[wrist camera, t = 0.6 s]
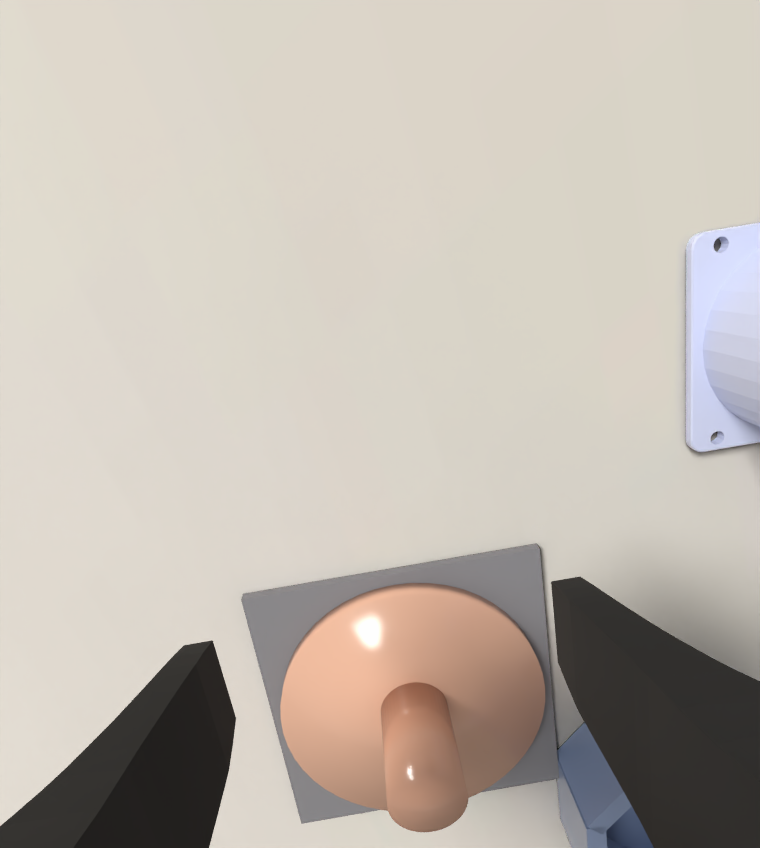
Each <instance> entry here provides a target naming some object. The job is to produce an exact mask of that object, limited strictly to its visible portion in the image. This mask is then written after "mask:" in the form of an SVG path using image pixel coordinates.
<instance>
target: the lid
mask: <svg viewBox="0 0 760 848" xmlns="http://www.w3.org/2000/svg"><path fill="white" fill-rule="evenodd" d="M544 707H545V684H544V678H543V673H542V670H541V667H540V664H539V661H538V659H537V657H536V655H535V653H534V650H533V648H532V646H531V645H530V643H529V641H528V639H527V637H526V635H525V634H524V632H523V631H522V630H521V628H520V627H519V626H518V624H517V623H516V622H515V621H514V620H513V619H512V618H511V617H510V616H509V615H508V614H507V613H506V612H505V611H503V610H502V609H501V608H499V607H498V606H496V605H495V604H494V603H492V602H490V601H488V600H487V599H485V598H483V597H481V596H479V595H477V594H474V593H472V592H469V591H466V590H464V589H460V588H456V587H452V586H448V585H441V584H433V583H406V584H397V585H391V586H386V587H382V588H378V589H374V590H371V591H368V592H366V593H363V594H360V595H358V596H356V597H354V598H351V599H349V600H347V601H345V602H343V603H342V604H340V605H339V606H337V607H336V608H334V609H333V610H331V611H330V612H328V613H327V614H326V615H325V616H323V617H322V618H321V619H320V620H319V621H317V622H316V623H315V624H314V625H313V627H312V628H311V629H310V630H309V631H308V632H307V633H306V634H305V635H304V637H303V638H302V640H301V641H300V643H299V644H298V646H297V647H296V649H295V651H294V653H293V655H292V657H291V659H290V661H289V664H288V667H287V670H286V674H285V677H284V684H283V690H282V697H281V704H280V711H281V724H282V729H283V734H284V737H285V740H286V742H287V745H288V747H289V749H290V751H291V753H292V755H293V757H294V759H295V760H296V761H297V763H298V764H299V765H300V767H301V768H302V769H303V770H304V771H305V772H306V773H307V774H308V775H309V776H310V777H311V778H312V779H313V780H314V781H315V782H316V783H318V784H319V785H320V786H322V787H323V788H324V789H326V790H327V791H329V792H331V793H333V794H334V795H336V796H338V797H340V798H343V799H345V800H347V801H350V802H352V803H355V804H358V805H362V806H365V807H369V808H374V809H380V810H388V811H389V814H390V816H391V817H392V819H393V820H394V821H395V822H396V823H397V824H399V825H400V826H402V827H403V828H406V829H408V830H411V831H416V832H432V831H437V830H440V829H443V828H446V827H448V826H450V825H451V824H453V823H454V822H456V821H457V820H458V819H459V818H460V817H461V816H462V814H463V813H464V811H465V809H466V807H467V804H468V798H469V797H471V796H473V795H476V794H478V793H480V792H481V791H483V790H485V789H486V788H488V787H490V786H492V785H493V784H494V783H496V782H497V781H498V780H500V779H501V778H502V777H504V776H505V775H506V774H507V773H508V772H509V771H510V770H511V769H512V768H513V767H515V765H516V764H517V763H518V762H519V761H520V760H521V758H522V757H523V756H524V755H525V753H526V752H527V750H528V749H529V747H530V746H531V744H532V743H533V741H534V739H535V736H536V734H537V732H538V730H539V727H540V724H541V721H542V718H543V713H544Z"/></svg>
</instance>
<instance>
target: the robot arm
mask: <svg viewBox="0 0 760 848" xmlns="http://www.w3.org/2000/svg"><path fill="white" fill-rule="evenodd" d="M717 238H719V239H720V241H721V247H720V249H719V250H718V251H717V252H716V251H715V250H714V247H713V245H714V242H715V240H716V239H717ZM714 432H717V433H718V434H717V437H716V438H715V439H714V440H712V441H711V435H712V434H713V433H714ZM686 442H687V445H688V446H689V447H690V448H692V449H693V450H695V451H698V452H706V451H712V450H718V449H724V448H730V447H736V446H742V445H747V444H753V443H759V442H760V222H759V223H753V224H747V225H741V226H735V227H729V228H723V229H717V230H712V231H706V232H700V233H697V234H695V235H694V236H693V237H691V238H690V240H689V242H688V243H687V248H686ZM551 584H552V596H553V608H554V620H555V632H556V643H557V655H558V663H559V666H560V668H561V671H562V673H563V676H564V678H565V680H566V683H567V685H568V688H569V690H570V693H571V695H572V697H573V700H574V702H575V704H576V707H577V709H578V711H579V713H580V714H581V716H582V718H583V720H584V722H585V724H586V725H587V727H588V729H589V731H590V733H591V734H592V736H593V738H594V740H595V742H596V743H597V745H598V747H599V749H600V751H601V752H602V754H603V756H604V758H605V759H606V761H607V763H608V765H609V767H610V768H611V770H612V772H613V774H614V775H615V777H616V779H617V781H618V783H619V784H620V786H621V788H622V790H623V791H624V793H625V795H626V797H627V799H628V800H629V802H630V804H631V806H632V807H633V809H634V811H635V813H636V815H637V816H638V818H639V820H640V822H641V824H642V826H643V828H644V830H645V832H646V834H647V836H648V838H649V839H650V841H651V843H652V845H653V847H654V848H760V681H757V680H755V679H753V678H751V677H749V676H747V675H745V674H743V673H741V672H738V671H736V670H734V669H732V668H730V667H728V666H726V665H724V664H722V663H720V662H718V661H717V660H715V659H713V658H711V657H709V656H707V655H706V654H704V653H702V652H700V651H698V650H697V649H695V648H693V647H691V646H689V645H687V644H686V643H684V642H682V641H680V640H679V639H677V638H675V637H674V636H672V635H670V634H668V633H667V632H665V631H663V630H662V629H660V628H659V627H657V626H655V625H654V624H652V623H650V622H649V621H647V620H646V619H644V618H642V617H641V616H639V615H638V614H636V613H635V612H633V611H631V610H630V609H628V608H627V607H625V606H624V605H622V604H621V603H619V602H618V601H616V600H615V599H613V598H612V597H610V596H609V595H607V594H606V593H604V592H603V591H601V590H600V589H598V588H597V587H595V586H594V585H592V584H591V583H589V582H588V581H586V580H584V579H583V578H581V577H575V578H570V579H564V580H558V581H552V582H551ZM235 721H236V717H235V714H234V710H233V707H232V704H231V700H230V697H229V694H228V690H227V687H226V684H225V680H224V677H223V674H222V670H221V667H220V664H219V660H218V657H217V654H216V650H215V647H214V644H213V641H207V642H201V643H196V644H190V645H184V646H183V647H182V648H181V649H180V650H179V651H178V652H177V653H176V654H175V655H174V656H173V657H172V658H171V659H170V660H169V661H168V662H167V663H166V665H165V666H164V667H163V668H162V669H161V670H160V671H159V672H158V673H157V674H156V675H155V677H154V678H153V679H152V680H151V681H150V682H149V683H148V684H147V685H146V686H145V688H144V689H143V690H142V691H141V692H140V693H139V694H138V695H137V696H136V697H135V698H134V699H133V700H132V702H131V703H130V704H129V705H128V706H127V707H126V708H125V709H124V710H123V711H122V712H121V713H120V714H119V715H118V717H117V718H116V719H115V720H114V721H113V722H112V723H111V724H110V725H109V726H108V727H107V728H106V729H105V730H104V731H103V732H102V733H101V734H100V735H99V736H98V737H97V738H96V739H95V740H94V741H93V742H92V743H91V744H90V745H89V746H88V747H87V748H86V749H85V750H84V751H83V752H82V753H81V754H80V755H79V756H78V757H77V758H76V759H75V760H74V761H73V762H72V763H71V764H70V765H69V766H68V767H67V768H66V769H65V770H64V771H63V772H61V773H60V774H59V775H58V776H57V777H56V778H55V779H54V780H53V781H52V782H51V783H50V784H48V785H47V786H46V787H45V788H44V789H43V790H42V791H41V792H40V793H38V794H37V795H36V796H35V797H34V798H33V799H32V800H30V801H29V802H28V803H27V804H26V805H25V806H23V807H22V808H21V809H20V810H19V811H18V812H17V813H15V814H14V815H13V816H12V817H11V818H10V819H8V820H7V821H6V822H5V823H4V824H2V825H1V826H0V848H209V845H210V841H211V838H212V834H213V830H214V826H215V822H216V819H217V815H218V811H219V807H220V803H221V799H222V795H223V791H224V788H225V784H226V780H227V775H228V771H229V766H230V759H231V752H232V746H233V738H234V729H235Z"/></svg>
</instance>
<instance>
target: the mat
mask: <svg viewBox="0 0 760 848" xmlns="http://www.w3.org/2000/svg"><path fill="white" fill-rule="evenodd" d="M406 583H433V584H441V585H448V586H452V587H456V588H460V589H464V590H466V591H469V592H472V593H474V594H477V595H479V596H481V597H483V598H485V599H487V600H488V601H490V602H492V603H494V604H495V605H496V606H498V607H499V608H501V609H502V610H503V611H505V612H506V613H507V614H508V615H509V616H510V617H511V618H512V619H513V620H514V621H515V622H516V623H517V624H518V626H519V627H520V628H521V630H522V631H523V632H524V634H525V635H526V637H527V639H528V641H529V643H530V645H531V646H532V648H533V650H534V653H535V655H536V657H537V659H538V661H539V664H540V667H541V670H542V673H543V678H544V684H545V707H544V713H543V718H542V721H541V724H540V727H539V730H538V732H537V734H536V736H535V739H534V741H533V743H532V744H531V746H530V747H529V749H528V750H527V752H526V753H525V755H524V756H523V757H522V758H521V760H520V761H519V762H518V763H517V764H516V765H515V767H513V768H512V769H511V770H510V771H509V772H508V773H507V774H506V775H505V776H504V777H502V778H501V779H500V780H498V781H497V782H496V783H494V784H493V785H492V786H490V787H488V788H486V789H485V790H483V791H481V792H485V791H491V790H496V789H502V788H508V787H513V786H519V785H525V784H530V783H536V782H542V781H547V780H553V779H559V769H558V757H557V746H556V734H555V722H554V710H553V698H552V687H551V675H550V663H549V651H548V639H547V628H546V616H545V604H544V592H543V580H542V569H541V557H540V548H539V547H538V545H537V544H531V545H525V546H520V547H514V548H508V549H502V550H496V551H490V552H485V553H479V554H473V555H467V556H461V557H455V558H450V559H444V560H438V561H432V562H426V563H421V564H415V565H409V566H403V567H397V568H391V569H386V570H380V571H374V572H368V573H362V574H357V575H351V576H345V577H339V578H333V579H327V580H322V581H316V582H310V583H304V584H298V585H293V586H287V587H281V588H275V589H269V590H263V591H258V592H252V593H246V594H243V596H242V599H241V600H242V604H243V608H244V612H245V615H246V619H247V623H248V626H249V630H250V634H251V638H252V641H253V645H254V649H255V652H256V656H257V660H258V664H259V667H260V671H261V675H262V678H263V682H264V686H265V690H266V693H267V697H268V701H269V704H270V708H271V712H272V716H273V719H274V723H275V727H276V730H277V734H278V738H279V741H280V745H281V749H282V753H283V756H284V760H285V764H286V767H287V771H288V775H289V779H290V782H291V786H292V790H293V793H294V797H295V801H296V805H297V808H298V812H299V816H300V819H301V823H308V822H314V821H320V820H325V819H331V818H337V817H342V816H348V815H354V814H359V813H365V812H371V811H377V810H380V809H374V808H369V807H365V806H362V805H358V804H355V803H352V802H350V801H347V800H345V799H343V798H340V797H338V796H336V795H334V794H333V793H331V792H329V791H327V790H326V789H324V788H323V787H322V786H320V785H319V784H318V783H316V782H315V781H314V780H313V779H312V778H311V777H310V776H309V775H308V774H307V773H306V772H305V771H304V770H303V769H302V768H301V767H300V765H299V764H298V763H297V761H296V760H295V759H294V757H293V755H292V753H291V751H290V749H289V747H288V745H287V742H286V740H285V737H284V734H283V729H282V724H281V711H280V704H281V697H282V690H283V684H284V677H285V674H286V670H287V667H288V664H289V661H290V659H291V657H292V655H293V653H294V651H295V649H296V647H297V646H298V644H299V643H300V641H301V640H302V638H303V637H304V635H305V634H306V633H307V632H308V631H309V630H310V629H311V628H312V627H313V625H314V624H315V623H316V622H317V621H319V620H320V619H321V618H322V617H323V616H325V615H326V614H327V613H328V612H330V611H331V610H333V609H334V608H336V607H337V606H339V605H340V604H342V603H343V602H345V601H347V600H349V599H351V598H354V597H356V596H358V595H360V594H363V593H366V592H368V591H371V590H374V589H378V588H382V587H386V586H391V585H397V584H406Z"/></svg>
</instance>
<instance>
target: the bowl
mask: <svg viewBox="0 0 760 848" xmlns="http://www.w3.org/2000/svg"><path fill="white" fill-rule="evenodd" d="M557 757H558V769H559V779H557V787H558V798H559V810H560V819H561V822H562V824H563V827H564V829H565V832H566V835H567V837H568V840H569V842H570V845H571V848H654V847H653V845H652V843H651V841H650V839H649V838H648V836H647V834H646V832H645V830H644V828H643V826H642V824H641V822H640V820H639V818H638V816H637V815H636V813H635V811H634V809H633V807H632V806H631V804H630V802H629V800H628V799H627V797H626V795H625V793H624V791H623V790H622V788H621V786H620V784H619V783H618V781H617V779H616V777H615V775H614V774H613V772H612V770H611V768H610V767H609V765H608V763H607V761H606V759H605V758H604V756H603V754H602V752H601V751H600V749H599V747H598V745H597V743H596V742H595V740H594V738H593V736H592V734H591V733H590V731H589V729H588V727H587V725H586V724H585V722H584V723H583V724H582V725H581V726H580V727H579V728H578V729H577V730H576V731H575V732H574V733H573V735H572V736H571V737H570V738H569V739H568V740H567V741H566V742H565V743H564V744H563V745H562V746H561V747H560V748H559V749H558V750H557Z"/></svg>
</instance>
